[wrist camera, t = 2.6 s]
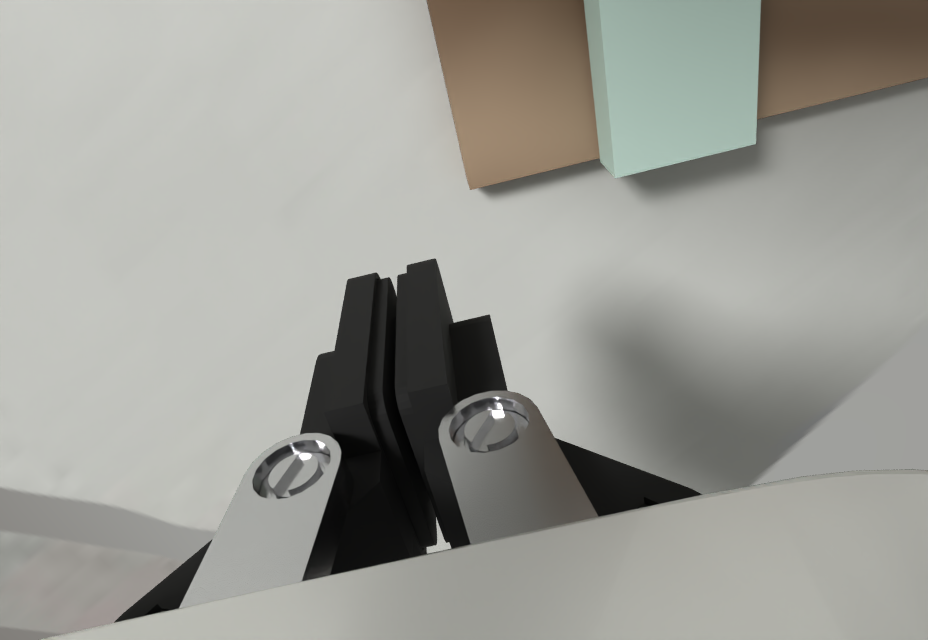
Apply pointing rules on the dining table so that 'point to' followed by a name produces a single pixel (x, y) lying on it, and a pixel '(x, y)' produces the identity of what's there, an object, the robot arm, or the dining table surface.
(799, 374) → the dining table surface
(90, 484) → the dining table surface
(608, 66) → the link
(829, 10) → the board
